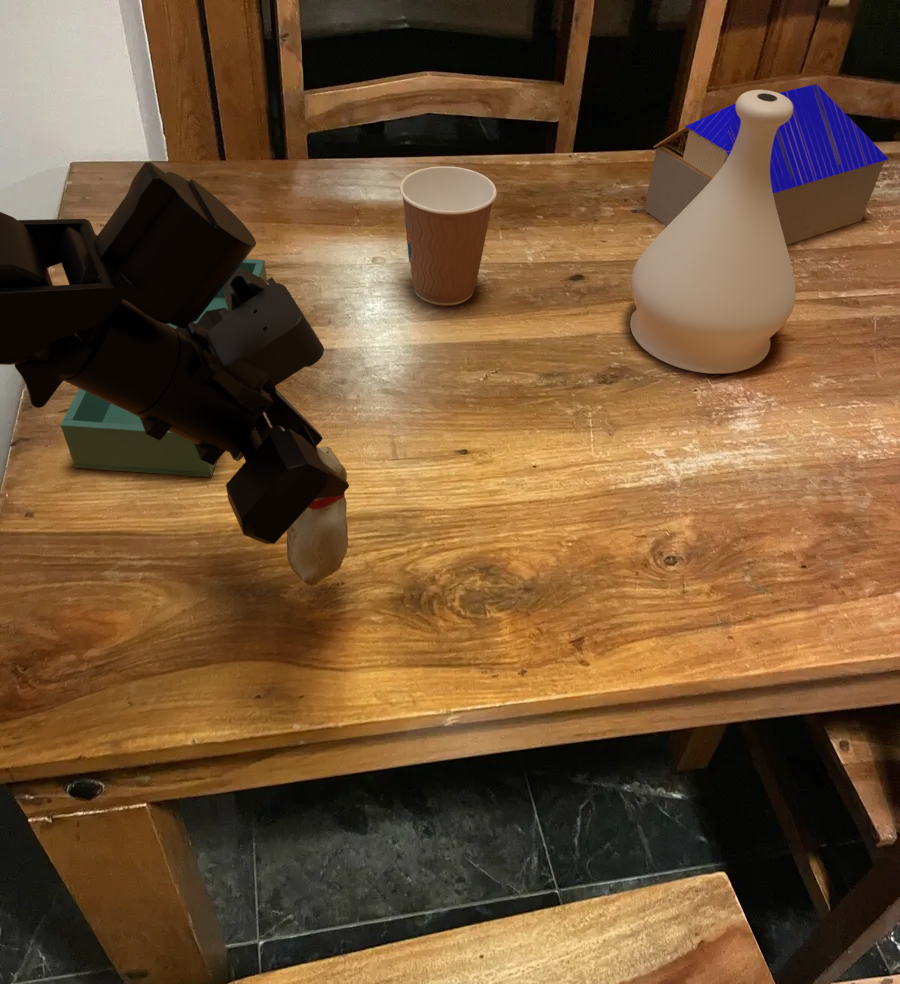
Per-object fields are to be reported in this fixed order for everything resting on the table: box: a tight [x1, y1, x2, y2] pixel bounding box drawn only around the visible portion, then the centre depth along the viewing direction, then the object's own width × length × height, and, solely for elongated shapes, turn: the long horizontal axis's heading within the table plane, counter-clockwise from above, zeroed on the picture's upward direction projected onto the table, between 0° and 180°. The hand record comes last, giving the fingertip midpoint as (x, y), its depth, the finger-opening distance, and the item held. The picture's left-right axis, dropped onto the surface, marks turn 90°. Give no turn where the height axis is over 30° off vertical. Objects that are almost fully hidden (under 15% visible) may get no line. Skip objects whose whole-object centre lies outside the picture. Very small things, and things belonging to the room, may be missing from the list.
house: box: [643, 83, 890, 246], centre depth 117 cm, size 25×16×16 cm, turn 121°
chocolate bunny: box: [286, 446, 349, 587], centre depth 68 cm, size 6×8×10 cm
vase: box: [629, 89, 797, 375], centre depth 95 cm, size 17×17×25 cm
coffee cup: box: [399, 165, 497, 307], centre depth 104 cm, size 10×10×12 cm
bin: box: [60, 258, 268, 478], centre depth 94 cm, size 30×13×5 cm, turn 177°
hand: (331, 465), depth 68 cm, fingers closed on chocolate bunny, 5 cm apart
